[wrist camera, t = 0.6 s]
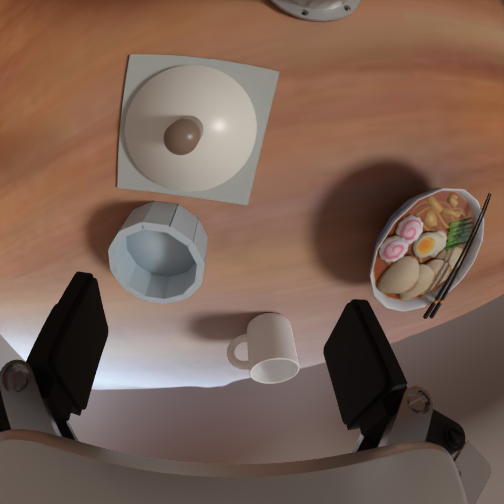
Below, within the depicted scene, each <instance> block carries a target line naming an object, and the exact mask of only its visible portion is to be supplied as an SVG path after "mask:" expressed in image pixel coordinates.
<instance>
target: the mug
mask: <svg viewBox="0 0 504 504" xmlns="http://www.w3.org/2000/svg"><path fill="white" fill-rule="evenodd" d="M242 342H247V345H248V359H249V360H248V361H241V360H238V359H237V358H236V357H235V354H234V351H235V348H236V346H237V345H238V344H240V343H242ZM227 357H228V359H229V361H230V363H231V364H232V365H233V366H235V367H237V368H239V369H249V374H250V376H251V378H252V379H253V380H255V381H257V382H260V383H268V384H271V383H279V382H283V381H286V380H289V379H290V378H292V377H294V376H295V375H296V374H297V373H298V371H299V363H298V358H297V353H296V348H295V343H294V338H293V333H292V329H291V325H290V322H289V320H288V319H287V318H286V317H285V316H283V315H281V314H277V313H264V314H261V315H258V316H256V317H255V318H253V319H252V320H251V321H250V322H249V324H248V326H247V334H244V335H240V336H238V337H236V338H234V339H233V340H232V341H231V342H230V344H229V346H228V349H227Z"/></svg>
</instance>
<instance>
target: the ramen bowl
mask: <svg viewBox="0 0 504 504" xmlns="http://www.w3.org/2000/svg"><path fill="white" fill-rule="evenodd" d="M489 194H490V193H489ZM489 194H488V196H487V199H488V197H489V199H488V202H487V199H486V201H485V204H484V206H483V208H482V211H481V208H480V205H479V202H478V201H477V200H476V199H475V198H474V197H473V196H472V195H471V194H469V193H468V192H467V191H466V190H465V189H453V188H435V189H432V190H429V191H427V192H424V193H422V194H420V195H417V196H415V197H412V198H410V199H409V200H407V201H406V202H405V203H404V204H403V205H402V206H401V207H400V208H399V209H398V210H397V211H396V212H394V213H393V214H392V215H391V217H390V218H389V220H388V222H387V223H386V225H385V227H384V228H383V230H382V231H381V233H380V235H379V236H378V238H377V241H376V245H375V250H374V254H373V259H372V263H371V267H370V280H371V285H372V291H373V296H374V297H375V298H376V299H377V300H378V301H379V302H380V303H381V304H382V305H383V306H384V307H385V308H388V309H392V310H397V311H401V312H405V311H410V310H415V309H420V308H423V307H425V306H427V305H429V304H431V303H432V304H431V305H430V307H429V308H428V310H427V311H426V313H425V314H424V316H423V317H424V319H427V317H428V316H429V314H430V313H431V311H432V310H433V308H434V306H435V305H436V303H437V301H438V300H439V299H440V300H439V302H438V303H437V305H436V306H435V308H434V310H433V311H432V313H431V314H430V316H429V317H430V318H433V317H434V316H435V314H436V312H437V311H438V309H439V307H440V306H441V304H442V302H443V300H444V299H445V297H446V295H447V293H448V292H449V291H451V290H452V289H453V288H454V287H455V286H456V285H457V284H458V283H459V282H460V281H461V280H462V279H463V277H464V276H465V275H466V273H467V272H468V270H469V269H470V268H471V266H472V265H473V263H474V261H475V259H476V256H477V254H478V251H479V249H480V246H481V243H482V240H483V230H484V217H483V216H484V214H485V211H486V208H487V206H488V203H489V200H490V197H491V194H490V196H489ZM486 202H487V205H486ZM485 205H486V207H485ZM484 207H485V210H484ZM483 210H484V212H483ZM482 212H483V214H482Z"/></svg>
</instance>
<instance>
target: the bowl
mask: <svg viewBox="0 0 504 504" xmlns="http://www.w3.org/2000/svg"><path fill="white" fill-rule="evenodd" d="M207 242H208V238H207V235H206V233H205V231H204V229H203V227H202V225H201V223H200V221H199V219H198V218H197V217H196V216H194V215H193V214H191V213H190V212H189V211H187V210H186V209H184V208H183V207H182V206H180V205H177V204H174V203H166V202H159V201H154V202H153V201H152V202H150V203H147V204H145V205H142V206H140V207H138V208H135V209H133V210H132V212H131V213H130V215H129V216H128V218H127V219H126V221H125V222H124V224H123V226H122V227H121V229H120V230H119V232H118V234H117V235H116V237H115V239H114V240H113V242H112V244H111V245H110V247H109V249H108V254H109V263H110V270H111V272H112V273H113V275H114V276H115V278H116V279H117V281H118V282H119V283H120V285H121V286H122V287H123V288H124V289H125V290H127V291H128V292H130V293H132V294H133V295H135V296H137V297H138V298H140V299H142V300H144V301H149V302H155V303H162V304H166V303H167V304H169V303H173V302H177V301H181V300H184V299H187V298H189V297H190V296H191V295H192V294H193V293H194V292H195V291H196V290H197V289H198V288H199V287H200V286H201V285H202V281H203V273H204V266H205V258H206V250H207Z"/></svg>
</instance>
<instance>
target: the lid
mask: <svg viewBox="0 0 504 504" xmlns="http://www.w3.org/2000/svg"><path fill="white" fill-rule="evenodd" d="M256 133H257V121H256V114H255V111H254V107H253V105H252V102H251V100H250V98H249V96H248V95H247V93H246V92H245V90H244V89H243V88H242V87H241V85H240V84H238V83H237V82H236V81H235V80H234V79H233V78H231V77H230V76H228V75H227V74H225V73H223V72H221V71H219V70H217V69H214V68H211V67H206V66H201V65H186V66H179V67H175V68H171V69H168V70H166V71H163V72H162V73H160V74H158V75H156V76H155V77H153V78H152V79H150V80H149V81H148V82H147V83H146V84H145V85H144V86H143V87H142V88H141V89H140V90H139V91H138V93H137V94H136V95H135V97H134V99H133V100H132V102H131V105H130V107H129V109H128V113H127V116H126V122H125V139H126V144H127V148H128V151H129V153H130V156H131V158H132V159H133V161H134V163H135V164H136V166H137V167H138V168H139V170H140V171H141V172H142V173H143V174H144V175H145V176H147V177H148V178H149V179H150V180H152V181H153V182H155V183H157V184H159V185H161V186H163V187H165V188H168V189H171V190H176V191H183V192H197V191H203V190H207V189H210V188H213V187H216V186H218V185H220V184H222V183H224V182H226V181H227V180H229V179H230V178H231V177H233V176H234V175H235V174H236V173H237V172H238V171H239V170H240V169H241V168H242V167H243V165H244V164H245V163H246V161H247V160H248V158H249V156H250V154H251V152H252V150H253V147H254V144H255V140H256Z"/></svg>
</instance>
